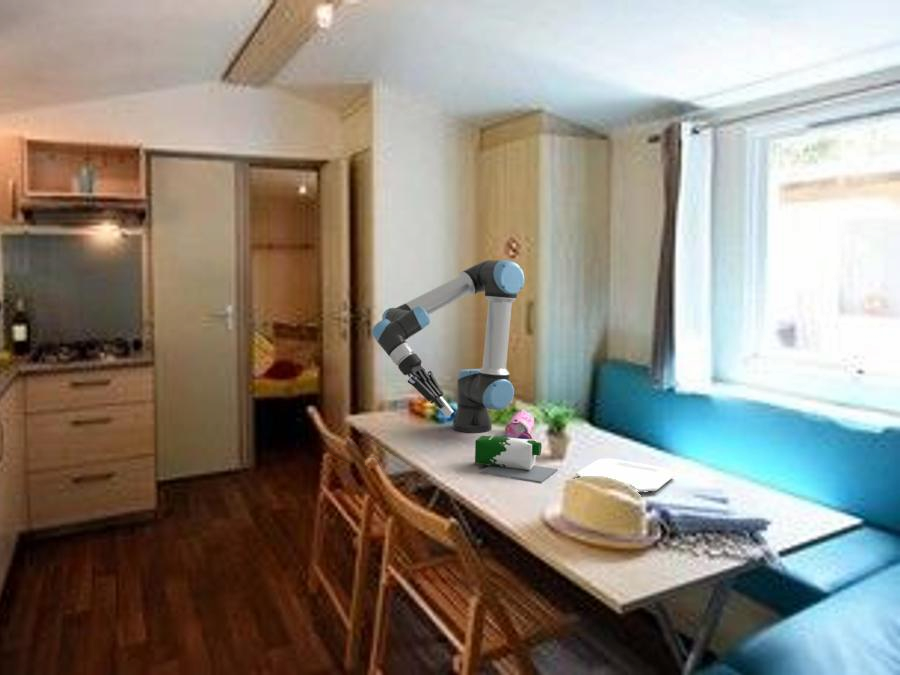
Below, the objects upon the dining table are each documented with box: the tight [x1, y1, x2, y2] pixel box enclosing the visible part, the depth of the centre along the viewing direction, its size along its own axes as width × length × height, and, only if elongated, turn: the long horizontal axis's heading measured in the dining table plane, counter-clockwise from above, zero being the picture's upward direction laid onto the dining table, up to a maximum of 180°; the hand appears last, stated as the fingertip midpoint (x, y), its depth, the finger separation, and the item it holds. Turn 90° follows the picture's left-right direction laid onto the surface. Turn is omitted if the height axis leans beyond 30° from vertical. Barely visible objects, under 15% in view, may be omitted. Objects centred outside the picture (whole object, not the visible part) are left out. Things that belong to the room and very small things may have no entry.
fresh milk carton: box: [474, 435, 543, 470], centre depth 221 cm, size 9×9×20 cm
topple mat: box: [479, 464, 559, 484], centre depth 218 cm, size 20×14×1 cm
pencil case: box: [504, 408, 535, 438], centre depth 258 cm, size 21×9×9 cm, turn 166°
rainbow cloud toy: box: [518, 432, 534, 440], centre depth 238 cm, size 8×10×7 cm
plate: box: [575, 458, 676, 493], centre depth 212 cm, size 25×25×2 cm
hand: (450, 414), depth 228 cm, fingers closed
